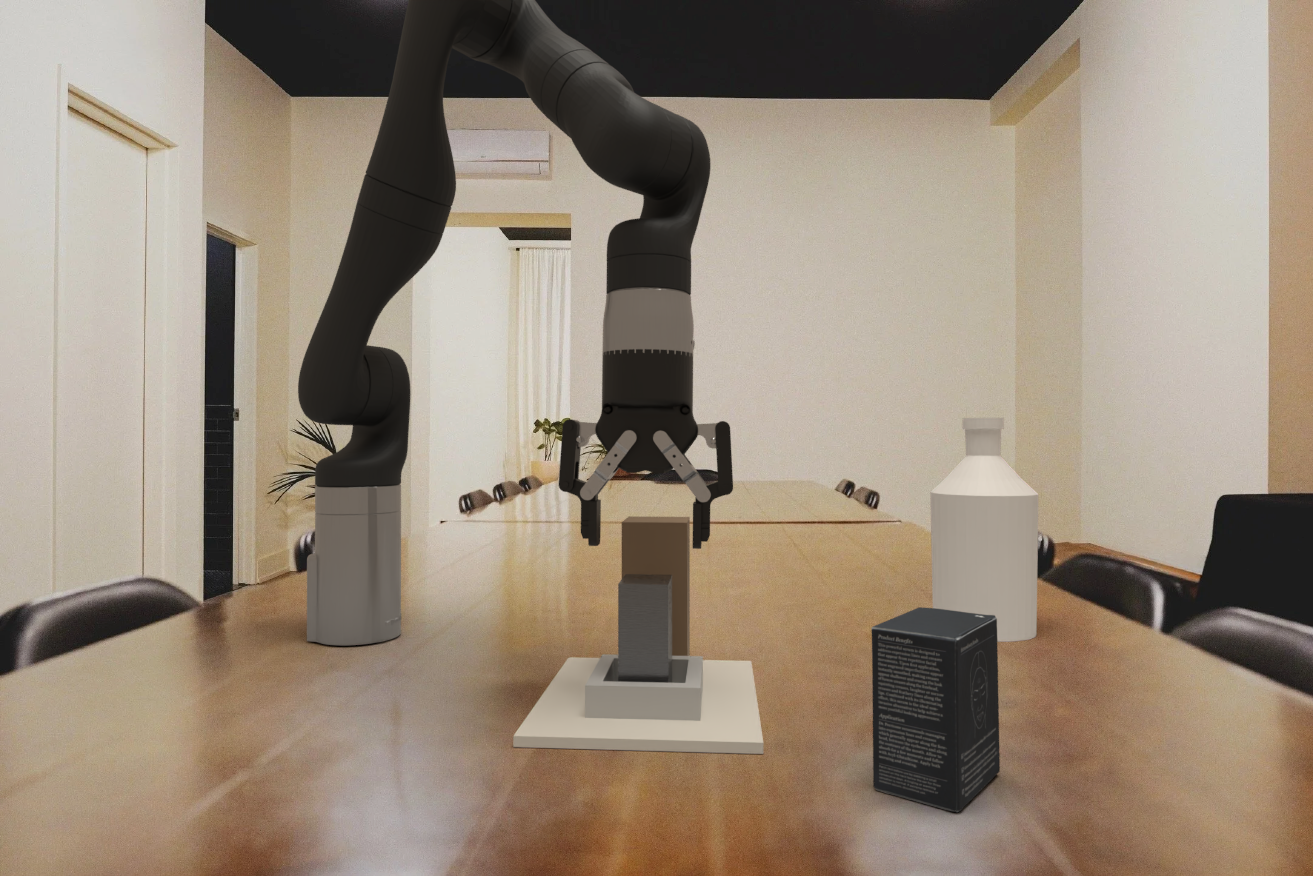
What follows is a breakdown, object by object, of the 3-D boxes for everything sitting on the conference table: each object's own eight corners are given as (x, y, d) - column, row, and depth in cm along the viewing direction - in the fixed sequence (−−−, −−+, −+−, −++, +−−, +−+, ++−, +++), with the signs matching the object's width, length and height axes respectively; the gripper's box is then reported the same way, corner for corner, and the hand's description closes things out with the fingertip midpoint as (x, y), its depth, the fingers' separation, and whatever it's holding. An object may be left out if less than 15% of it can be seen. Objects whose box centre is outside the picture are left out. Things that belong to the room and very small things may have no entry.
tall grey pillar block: (618, 709, 65) (618, 584, 66) (625, 690, 70) (625, 574, 71) (668, 711, 65) (668, 584, 65) (672, 692, 70) (672, 574, 70)
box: (918, 755, 58) (918, 605, 58) (1001, 775, 55) (1000, 615, 55) (869, 790, 52) (869, 623, 52) (959, 816, 49) (958, 636, 49)
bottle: (1006, 647, 89) (1005, 415, 89) (910, 628, 98) (910, 418, 98) (1058, 631, 96) (1057, 418, 96) (964, 615, 105) (964, 420, 106)
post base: (513, 747, 60) (513, 542, 60) (568, 665, 82) (568, 516, 82) (763, 754, 58) (763, 544, 58) (751, 669, 80) (751, 517, 80)
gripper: (553, 345, 65) (551, 550, 65) (735, 345, 64) (732, 555, 64) (571, 354, 72) (568, 539, 72) (733, 355, 71) (731, 542, 71)
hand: (645, 546), depth 68 cm, fingers open, 8 cm apart
